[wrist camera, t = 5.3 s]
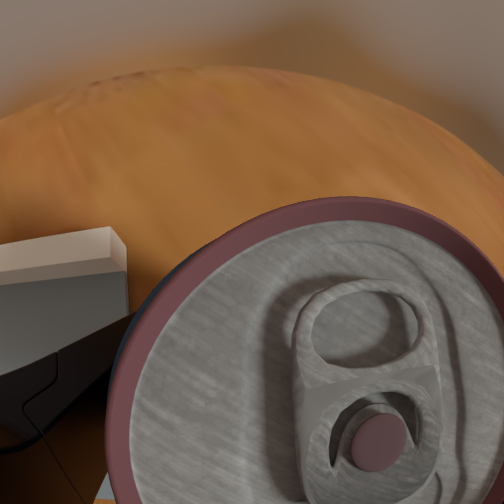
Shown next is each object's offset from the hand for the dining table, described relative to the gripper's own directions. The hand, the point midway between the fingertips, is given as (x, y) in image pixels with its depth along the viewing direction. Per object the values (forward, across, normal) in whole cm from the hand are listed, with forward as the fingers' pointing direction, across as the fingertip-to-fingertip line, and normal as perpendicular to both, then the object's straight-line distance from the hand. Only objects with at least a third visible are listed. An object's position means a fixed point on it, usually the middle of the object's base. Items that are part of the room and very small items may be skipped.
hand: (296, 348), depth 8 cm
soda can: (+4, 0, +6) cm, 7 cm away
